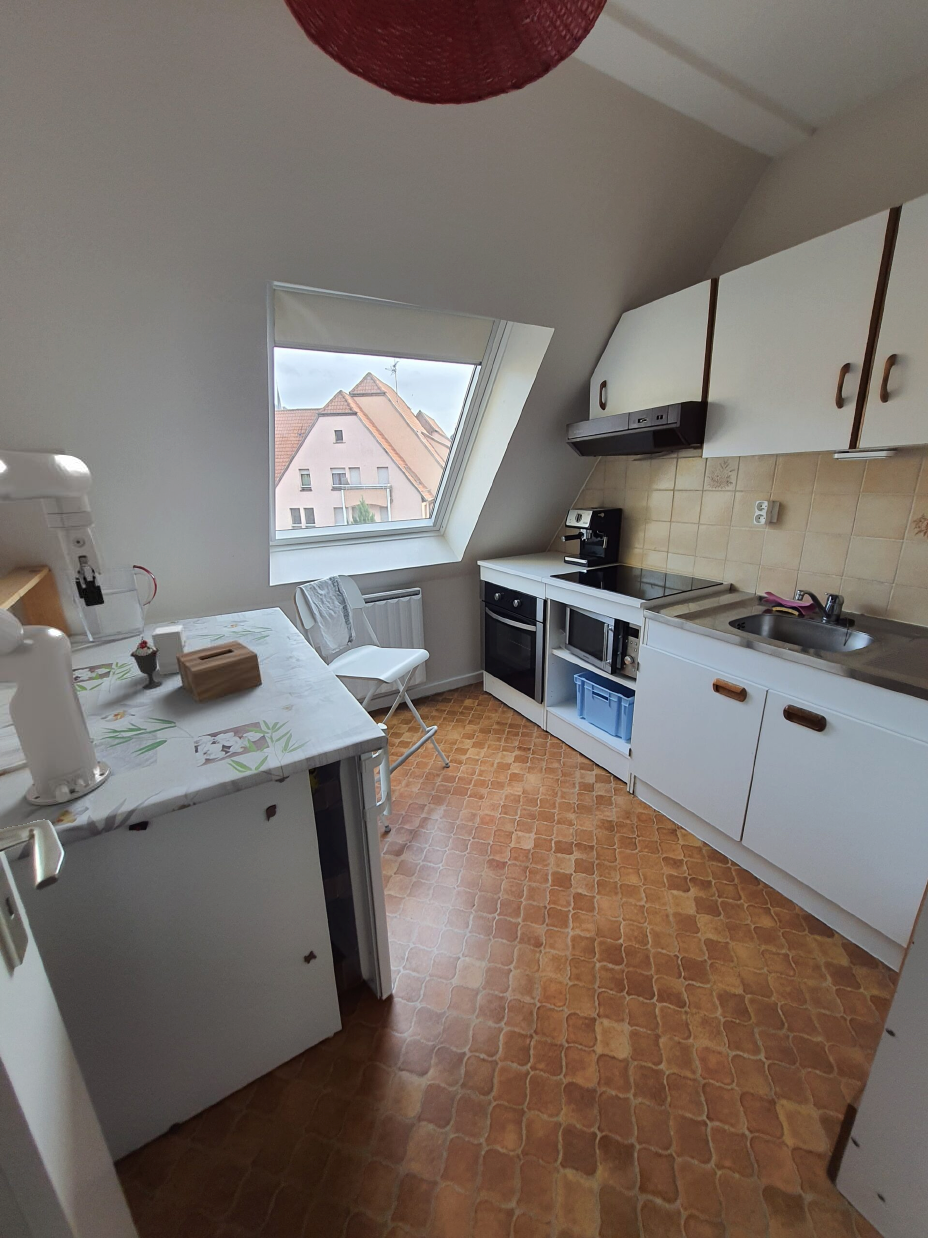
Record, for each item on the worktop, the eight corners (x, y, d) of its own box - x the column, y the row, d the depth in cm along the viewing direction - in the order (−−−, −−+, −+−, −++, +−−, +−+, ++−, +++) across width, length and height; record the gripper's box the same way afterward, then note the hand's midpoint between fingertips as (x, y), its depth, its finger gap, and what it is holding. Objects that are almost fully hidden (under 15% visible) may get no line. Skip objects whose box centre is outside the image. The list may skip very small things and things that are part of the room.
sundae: (153, 691, 131) (141, 639, 126) (132, 689, 132) (119, 638, 128) (172, 681, 137) (160, 631, 132) (152, 680, 138) (140, 630, 134)
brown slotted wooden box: (262, 683, 133) (256, 653, 131) (199, 703, 123) (192, 671, 120) (241, 668, 145) (236, 640, 142) (182, 685, 134) (175, 655, 132)
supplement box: (188, 671, 144) (179, 631, 140) (159, 675, 141) (150, 634, 138) (191, 662, 151) (183, 624, 147) (164, 666, 148) (155, 627, 144)
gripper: (99, 522, 96) (119, 604, 101) (87, 517, 108) (106, 591, 113) (50, 525, 91) (75, 612, 96) (44, 520, 103) (65, 597, 108)
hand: (91, 601), depth 104 cm, fingers open, 9 cm apart
